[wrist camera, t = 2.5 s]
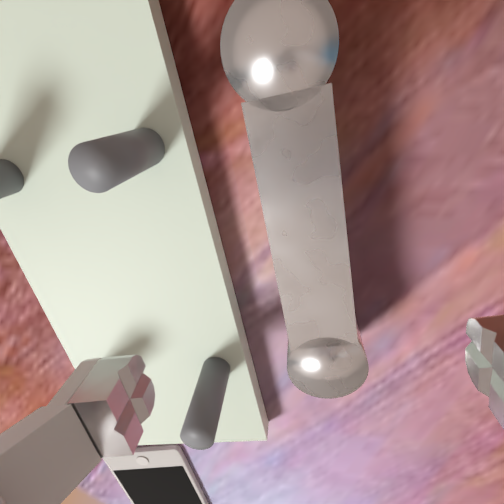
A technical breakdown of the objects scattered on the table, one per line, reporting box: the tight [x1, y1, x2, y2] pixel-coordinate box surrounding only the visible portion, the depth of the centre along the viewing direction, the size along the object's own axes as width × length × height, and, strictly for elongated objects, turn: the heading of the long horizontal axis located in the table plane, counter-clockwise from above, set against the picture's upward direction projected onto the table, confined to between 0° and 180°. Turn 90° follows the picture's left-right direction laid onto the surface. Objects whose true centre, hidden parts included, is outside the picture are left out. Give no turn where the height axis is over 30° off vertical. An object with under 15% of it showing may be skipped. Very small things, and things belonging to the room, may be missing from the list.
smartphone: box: [103, 444, 209, 504], centre depth 32 cm, size 7×15×1 cm, turn 15°
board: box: [0, 0, 268, 450], centre depth 19 cm, size 12×28×6 cm, turn 12°
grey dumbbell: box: [220, 0, 368, 398], centre depth 17 cm, size 4×19×4 cm, turn 12°
